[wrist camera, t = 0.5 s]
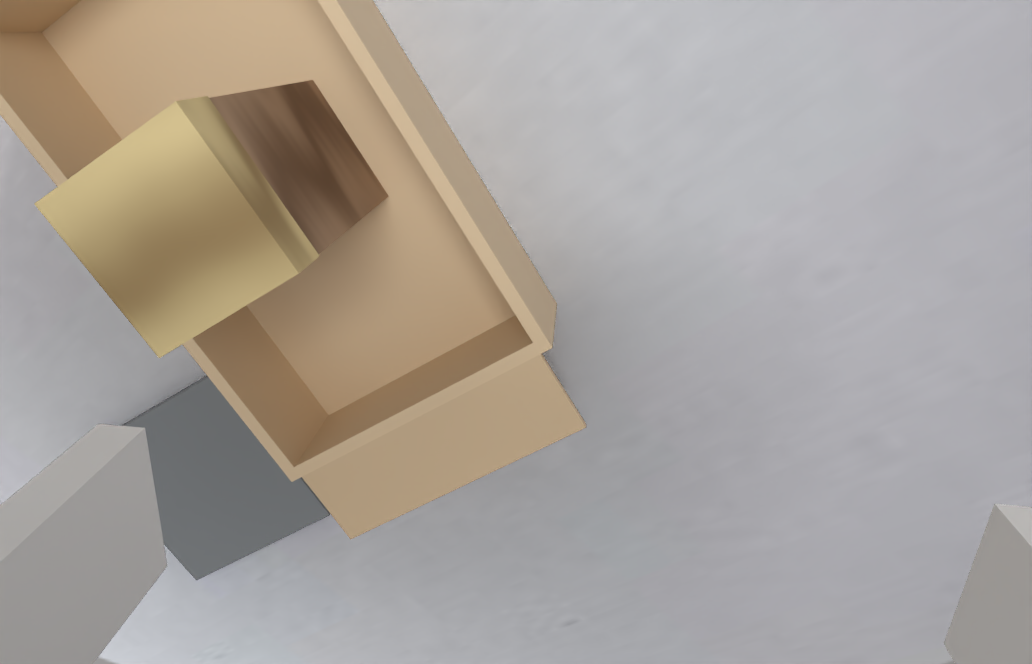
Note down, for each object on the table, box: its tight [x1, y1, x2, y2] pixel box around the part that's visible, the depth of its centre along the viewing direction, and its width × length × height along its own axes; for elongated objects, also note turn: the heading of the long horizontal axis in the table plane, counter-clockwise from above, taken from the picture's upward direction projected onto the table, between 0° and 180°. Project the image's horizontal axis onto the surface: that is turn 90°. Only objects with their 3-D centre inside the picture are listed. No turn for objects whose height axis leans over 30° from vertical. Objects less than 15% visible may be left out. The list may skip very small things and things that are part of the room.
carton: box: [0, 0, 586, 539], centre depth 32 cm, size 31×14×6 cm, turn 31°
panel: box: [122, 376, 330, 580], centre depth 42 cm, size 10×10×1 cm
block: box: [35, 80, 388, 358], centre depth 29 cm, size 6×6×12 cm
